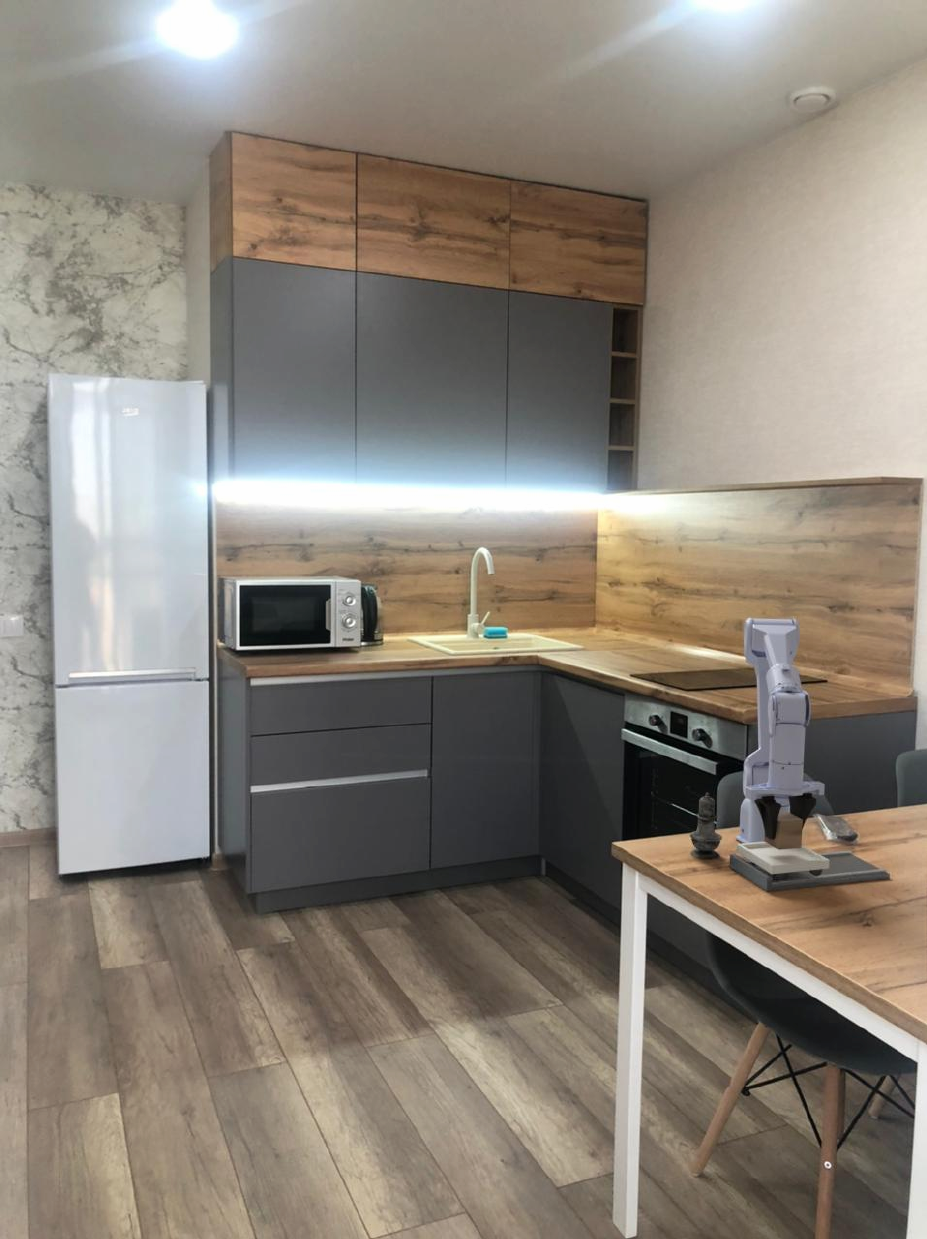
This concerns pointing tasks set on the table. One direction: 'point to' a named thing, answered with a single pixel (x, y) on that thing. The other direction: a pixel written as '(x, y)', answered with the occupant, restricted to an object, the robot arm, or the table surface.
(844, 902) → the table surface
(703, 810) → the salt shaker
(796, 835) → the plain brown block
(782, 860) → the white recessed tray
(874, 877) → the dark grey tray
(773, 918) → the table surface
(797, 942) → the table surface
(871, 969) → the table surface
